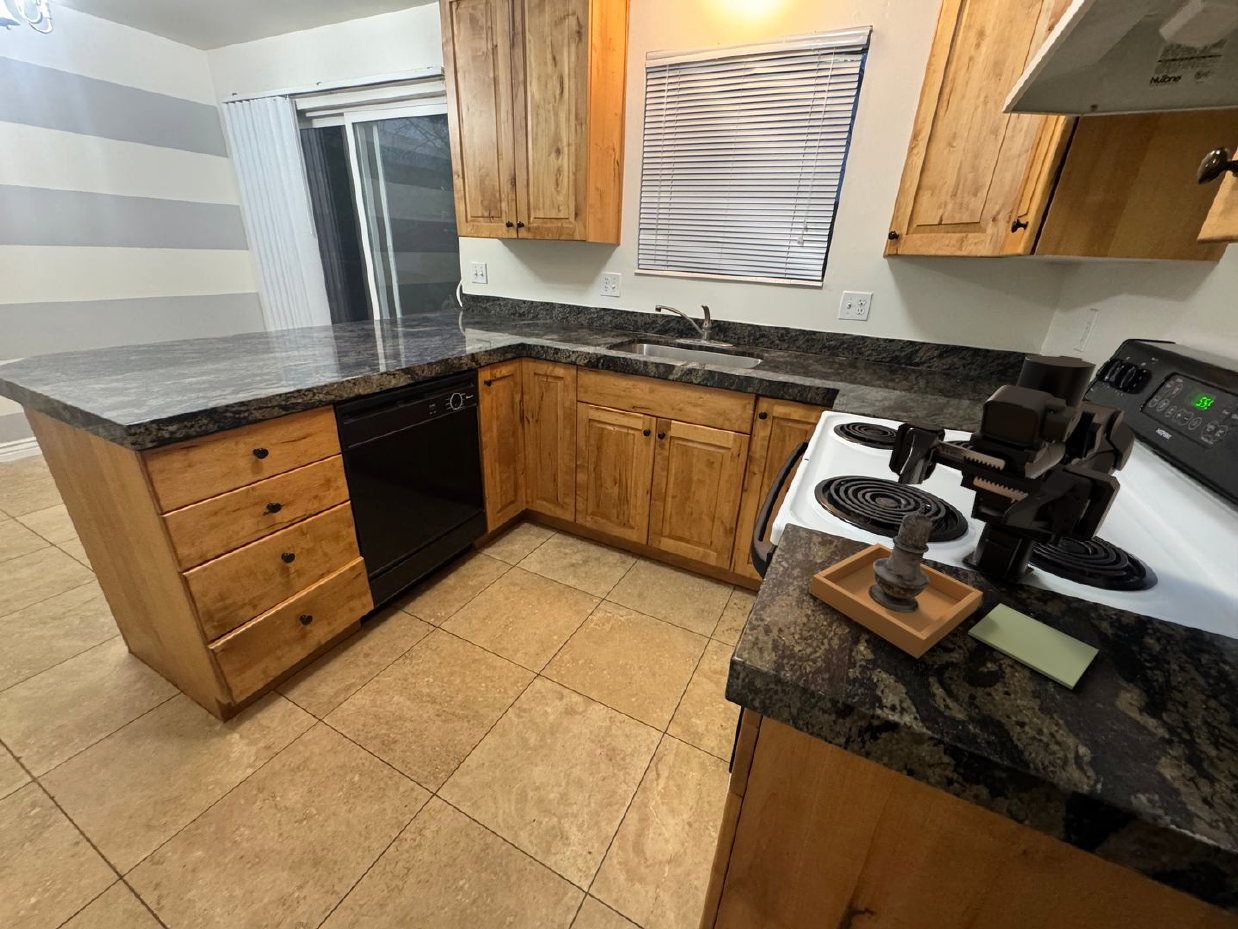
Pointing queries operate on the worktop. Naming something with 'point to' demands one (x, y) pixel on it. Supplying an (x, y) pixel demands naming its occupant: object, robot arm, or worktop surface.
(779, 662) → the worktop surface
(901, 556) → the stone finial
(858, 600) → the tray
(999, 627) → the mat
